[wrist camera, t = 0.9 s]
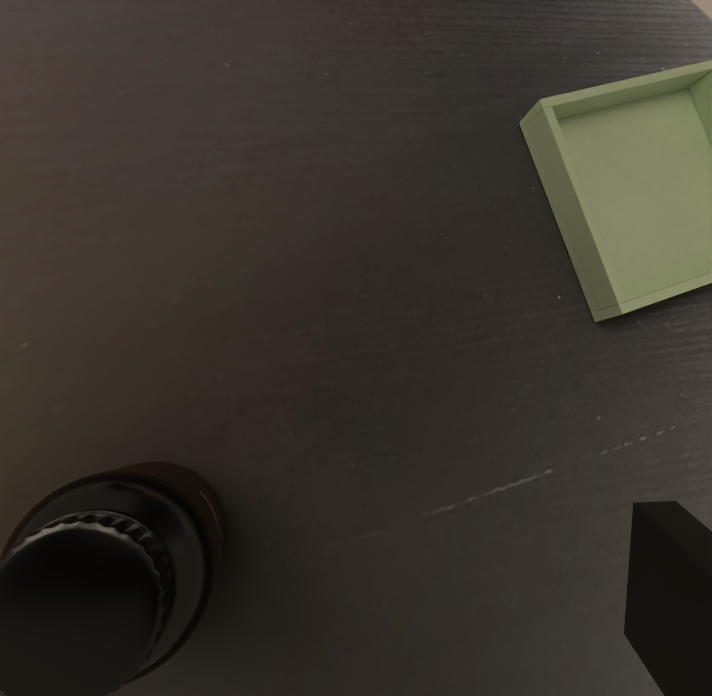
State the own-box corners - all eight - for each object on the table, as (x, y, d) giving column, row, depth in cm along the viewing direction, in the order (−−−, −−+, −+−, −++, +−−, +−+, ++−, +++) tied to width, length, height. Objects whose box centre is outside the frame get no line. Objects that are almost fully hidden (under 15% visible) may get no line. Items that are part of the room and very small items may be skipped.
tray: (518, 122, 33) (539, 98, 30) (685, 83, 36) (716, 58, 33) (594, 322, 32) (622, 314, 29) (759, 264, 35) (797, 252, 32)
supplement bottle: (255, 514, 27) (258, 583, 15) (162, 636, 25) (85, 820, 13) (144, 430, 26) (59, 433, 14) (43, 549, 24) (-145, 660, 13)
